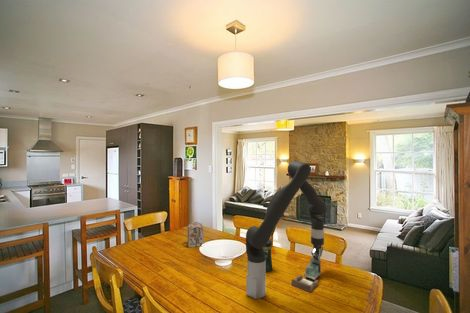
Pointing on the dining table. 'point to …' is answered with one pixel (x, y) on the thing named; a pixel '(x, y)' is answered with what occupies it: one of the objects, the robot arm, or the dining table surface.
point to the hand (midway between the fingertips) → (317, 264)
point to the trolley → (313, 269)
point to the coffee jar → (268, 255)
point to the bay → (304, 283)
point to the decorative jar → (195, 234)
